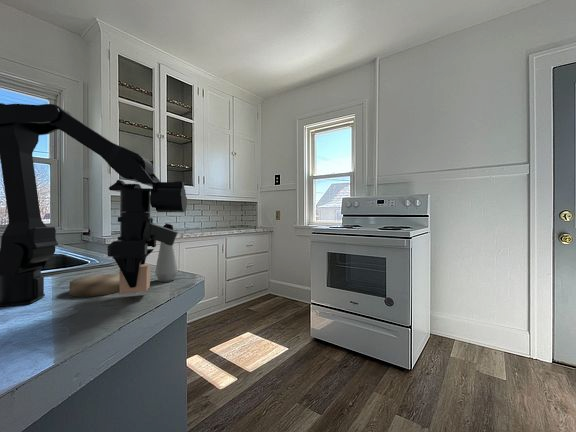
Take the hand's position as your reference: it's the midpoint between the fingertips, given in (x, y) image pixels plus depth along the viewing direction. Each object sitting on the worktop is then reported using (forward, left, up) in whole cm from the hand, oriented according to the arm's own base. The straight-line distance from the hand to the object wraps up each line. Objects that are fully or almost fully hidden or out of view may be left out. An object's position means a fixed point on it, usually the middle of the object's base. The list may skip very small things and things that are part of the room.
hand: (135, 284), depth 61 cm
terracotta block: (0, 0, -1) cm, 1 cm away
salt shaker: (+5, +16, -3) cm, 17 cm away
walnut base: (-9, +10, -3) cm, 14 cm away
